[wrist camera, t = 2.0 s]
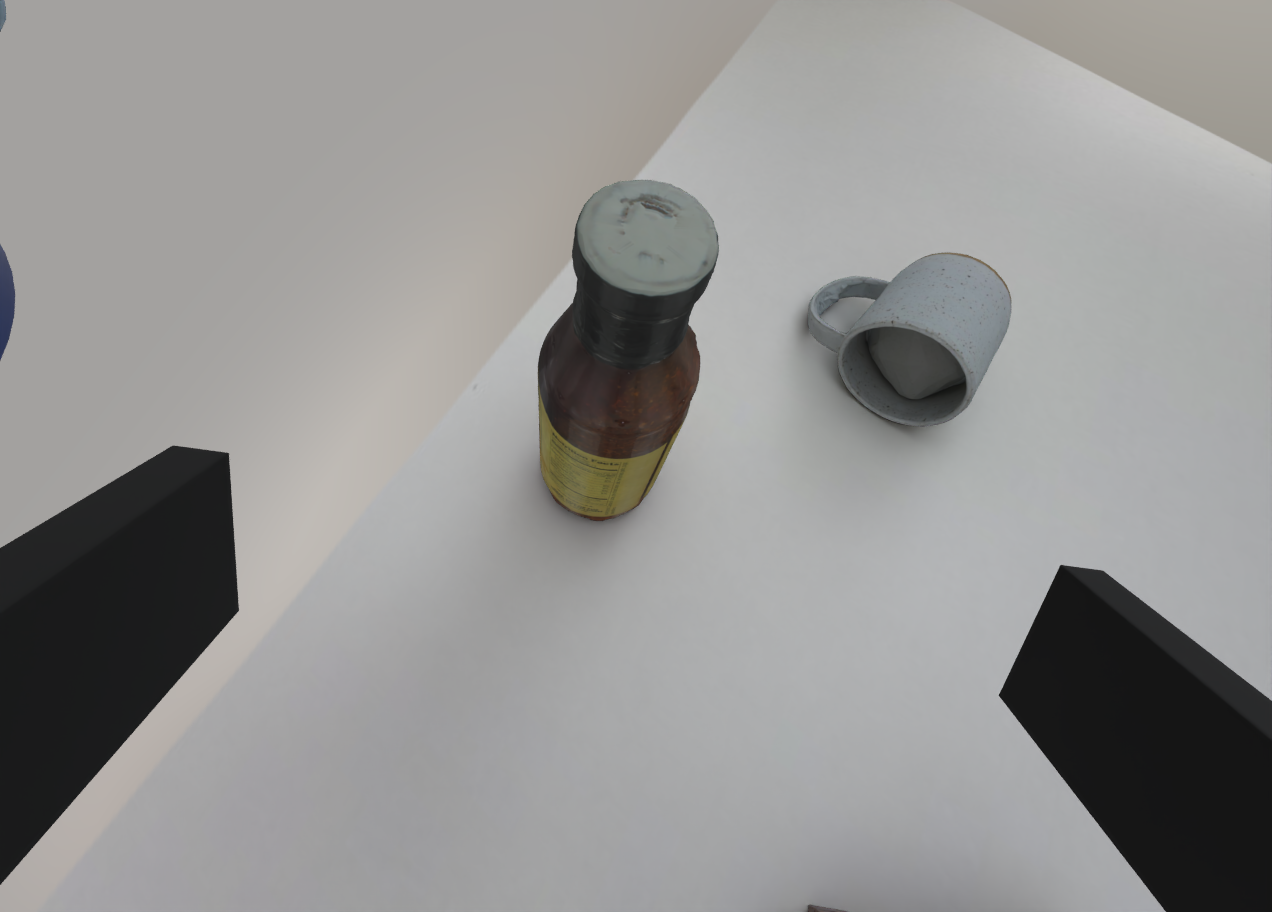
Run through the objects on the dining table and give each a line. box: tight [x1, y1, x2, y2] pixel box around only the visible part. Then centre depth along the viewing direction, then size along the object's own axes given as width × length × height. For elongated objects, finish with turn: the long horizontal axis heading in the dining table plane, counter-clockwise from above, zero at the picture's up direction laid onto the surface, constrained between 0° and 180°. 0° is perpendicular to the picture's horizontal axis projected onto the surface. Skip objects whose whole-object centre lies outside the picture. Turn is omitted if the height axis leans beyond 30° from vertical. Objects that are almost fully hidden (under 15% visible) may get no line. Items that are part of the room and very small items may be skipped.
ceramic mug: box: [808, 253, 1011, 426], centre depth 39 cm, size 11×8×8 cm
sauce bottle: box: [538, 180, 719, 521], centre depth 27 cm, size 6×6×20 cm
